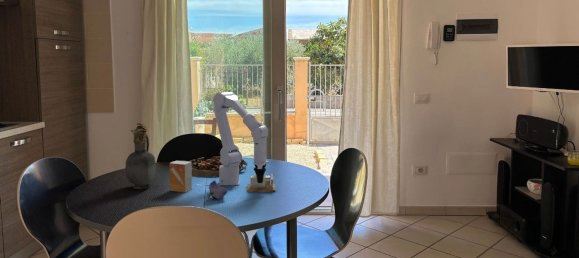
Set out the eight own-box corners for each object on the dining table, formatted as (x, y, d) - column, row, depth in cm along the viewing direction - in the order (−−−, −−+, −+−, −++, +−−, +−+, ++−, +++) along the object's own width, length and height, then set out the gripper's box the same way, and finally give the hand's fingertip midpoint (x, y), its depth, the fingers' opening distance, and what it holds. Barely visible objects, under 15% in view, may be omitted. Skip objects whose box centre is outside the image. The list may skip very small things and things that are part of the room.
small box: (169, 191, 220) (168, 162, 218) (176, 187, 226) (176, 160, 224) (185, 192, 218) (184, 164, 216) (192, 189, 224) (191, 161, 222)
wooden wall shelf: (246, 192, 220) (246, 179, 219) (247, 185, 230) (247, 173, 230) (275, 191, 220) (275, 179, 219) (275, 185, 231) (275, 173, 230)
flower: (211, 189, 200) (221, 174, 207) (198, 194, 204) (207, 180, 212) (224, 204, 203) (233, 190, 210) (210, 209, 207) (219, 195, 214)
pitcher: (123, 191, 219) (120, 125, 215) (138, 181, 238) (136, 120, 233) (147, 192, 218) (145, 125, 214) (160, 181, 237) (158, 120, 233)
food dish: (232, 163, 287) (232, 150, 286) (258, 175, 259) (258, 161, 258) (173, 167, 269) (174, 153, 268) (195, 181, 241) (195, 166, 240)
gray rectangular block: (250, 188, 223) (250, 177, 223) (250, 186, 227) (250, 175, 226) (270, 188, 224) (270, 177, 223) (270, 186, 227) (270, 175, 226)
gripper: (268, 155, 216) (268, 184, 218) (268, 149, 230) (268, 177, 232) (252, 155, 216) (253, 184, 217) (253, 149, 230) (254, 177, 232)
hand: (260, 180), depth 225 cm, fingers open, 7 cm apart
